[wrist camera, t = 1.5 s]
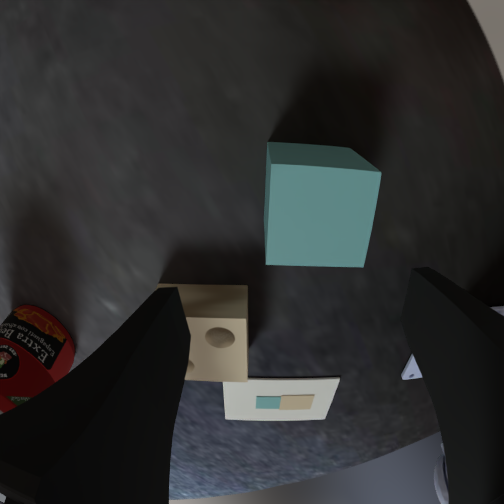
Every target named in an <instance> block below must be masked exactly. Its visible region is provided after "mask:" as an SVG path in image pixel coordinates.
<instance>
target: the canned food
mask: <svg viewBox="0 0 504 504" xmlns="http://www.w3.org/2000/svg"><path fill="white" fill-rule="evenodd" d="M74 355H75V346H74V343H73V340H72V338H71V336H70V335H69V333H68V332H67V330H66V329H65V328H64V326H63V325H62V324H61V323H60V322H59V321H58V320H57V319H56V318H55V317H53V316H52V315H51V314H49V313H48V312H46V311H44V310H43V309H40V308H38V307H36V306H32V305H22V306H19V307H18V308H16V309H15V310H13V311H12V312H11V313H10V314H9V315H8V317H7V318H6V319H5V320H4V322H3V323H2V324H1V326H0V414H2V413H5V412H7V411H9V410H11V409H13V408H15V407H16V406H18V405H20V404H22V403H24V402H26V401H27V400H29V399H31V398H32V397H34V396H36V395H37V394H39V393H41V392H42V391H44V390H45V389H46V388H48V387H49V386H51V385H52V384H54V383H55V382H57V381H58V380H60V379H61V378H62V377H64V376H65V375H67V374H68V372H69V370H70V368H71V366H72V364H73V361H74Z"/></svg>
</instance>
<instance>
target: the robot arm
mask: <svg viewBox="0 0 504 504" xmlns="http://www.w3.org/2000/svg"><path fill="white" fill-rule="evenodd" d="M401 322H402V325H403V328H404V332H405V335H406V338H407V341H408V345H409V347H410V349H411V352H412V355H411V357H410V359H409V361H408V363H407V365H406V367H405V369H404V371H403V372H402V374H401V376H402V379H404V380H406V379H414V378H421V377H423V379H424V382H425V384H426V387H427V389H428V391H429V394H430V396H431V399H432V402H433V404H434V407H435V410H436V414H437V418H438V422H439V427H440V431H441V435H442V440H443V443H442V444H441V447H442V450H443V453H444V454H442V455H440V456H439V458H438V460H437V463H436V467H435V470H434V483H435V489H436V492H437V496H438V498H439V501H440V503H441V504H504V306H499V307H489V306H487V305H486V304H484V303H483V302H481V301H480V300H478V299H477V298H475V297H474V296H473V295H471V294H470V293H468V292H467V291H465V290H464V289H462V288H461V287H459V286H458V285H456V284H455V283H454V282H452V281H451V280H449V279H448V278H446V277H444V276H443V275H441V274H440V273H438V272H436V271H435V270H433V269H431V268H429V267H423V268H414V269H412V270H411V275H410V280H409V285H408V289H407V294H406V298H405V303H404V307H403V311H402V315H401ZM190 342H191V334H190V330H189V327H188V323H187V320H186V316H185V313H184V309H183V306H182V302H181V299H180V295H179V291H178V287H161V288H158V289H157V290H156V291H154V292H153V293H152V294H151V295H150V296H149V297H148V299H147V300H146V301H145V302H144V303H143V304H142V305H141V306H140V307H139V308H138V309H137V310H136V311H135V312H134V313H133V314H132V315H131V316H130V317H129V318H128V319H127V320H126V321H125V322H124V323H123V324H122V326H121V327H120V328H119V329H118V330H117V331H116V332H114V333H113V334H112V335H111V336H110V337H109V338H108V339H107V340H106V341H105V342H104V343H103V344H102V345H101V346H100V347H99V348H98V349H97V350H96V351H95V352H93V353H92V354H91V355H90V356H89V357H88V358H87V359H85V360H84V361H83V362H82V363H81V364H79V365H78V366H77V367H76V368H74V369H73V370H72V371H71V372H69V373H68V374H67V375H65V376H64V377H62V378H61V379H60V380H58V381H57V382H55V383H54V384H52V385H51V386H49V387H48V388H46V389H45V390H44V391H42V392H41V393H39V394H37V395H36V396H34V397H32V398H31V399H29V400H27V401H26V402H24V403H22V404H20V405H18V406H16V407H15V408H13V409H11V410H9V411H7V412H5V413H2V414H0V493H1V494H3V495H5V496H6V500H5V503H3V502H1V501H0V504H169V474H170V458H171V447H172V436H173V430H174V424H175V419H176V415H177V411H178V406H179V402H180V398H181V393H182V389H183V385H184V380H185V376H186V372H187V367H188V362H189V353H190Z"/></svg>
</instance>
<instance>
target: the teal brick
mask: <svg viewBox="0 0 504 504" xmlns="http://www.w3.org/2000/svg"><path fill="white" fill-rule="evenodd" d="M381 173H382V172H380V171H379V170H378V169H377V168H375V167H374V166H373V165H372V164H370V163H369V162H368V161H366V160H365V159H364V158H363V157H361V156H360V155H359V154H357V153H356V152H355V151H353V150H352V149H351V148H346V147H336V146H325V145H312V144H298V143H281V142H267V165H266V188H265V210H264V230H265V254H266V265H294V266H332V267H363V266H364V262H365V257H366V253H367V248H368V244H369V239H370V234H371V229H372V224H373V219H374V214H375V208H376V203H377V197H378V191H379V185H380V179H381Z"/></svg>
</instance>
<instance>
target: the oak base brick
mask: <svg viewBox="0 0 504 504" xmlns="http://www.w3.org/2000/svg"><path fill="white" fill-rule="evenodd" d="M161 287H178V291H179V295H180V299H181V302H182V306H183V309H184V313H185V316H186V320H187V323H188V327H189V330H190V334H191V342H190V353H189V362H188V367H187V372H186V376H185V380H199V381H219V382H248V354H249V338H248V285H197V284H158V285H157V288H156V290H157V289H158V288H161ZM156 290H155V291H156Z"/></svg>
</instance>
